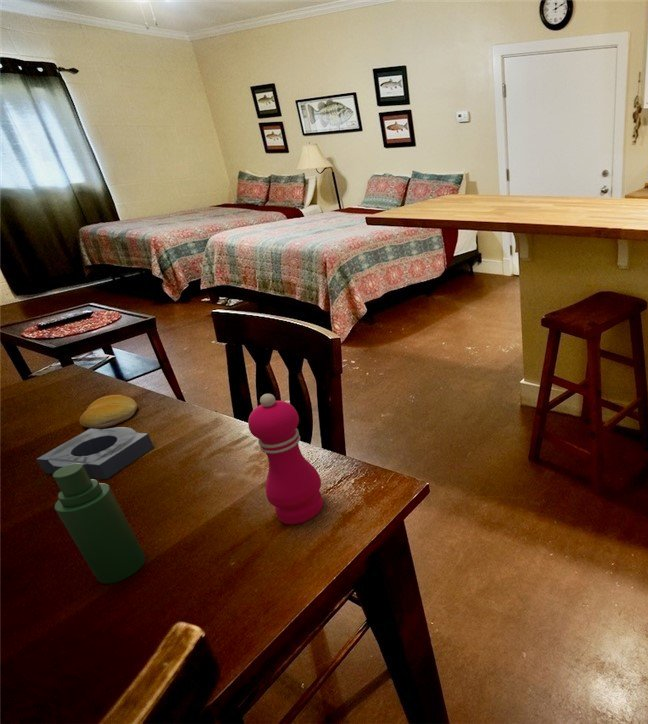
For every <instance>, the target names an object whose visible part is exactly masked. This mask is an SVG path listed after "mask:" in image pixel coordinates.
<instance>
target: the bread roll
mask: <svg viewBox="0 0 648 724" xmlns="http://www.w3.org/2000/svg"><path fill="white" fill-rule="evenodd" d="M137 409H138V403H137V402H136V401H135V400H134V399H133V398H131V397H129V396H127V395H123V394H111V395H106V396H102V397H99V398H98V399H95V400H94V401H93V402H92V403H90V404H89V405H88V407H87V408H86V410H85V411H84V412H83V413H82V414H81V415H80V417H79V424H80V425H81V427H83V428H88V429H107V428H111V427H113V426H116V425H118V424H121V423H122V422H126V421H127V420H129V419H130V418H132V416H134V414H135V413H136V411H137Z"/></svg>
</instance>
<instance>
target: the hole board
mask: <svg viewBox="0 0 648 724" xmlns="http://www.w3.org/2000/svg"><path fill="white" fill-rule="evenodd" d="M154 448H155V445H154V444H153V441H152V439H151V437H150V435H149V433H145V432H137V430H135V429H133V428H132V427H125V426H118V427H117V426H116V427H107V428H102V429H101V428H99V429H95V428H88V429H87V430H85V431H84V432H82V433H80V434H78V435H76V436H74V437H73V438H71V439H69V440H67V441H66V442H63V443H62V444H60V445H59V446H57V447H55V448H53V449H52V450H49V451H48V452H46V453H44V454H42V455H41V456H39V457H37V458H36V461H37V463H38V464H39V466H40V468H41V470H42V472H43V473H44V474H48V475H53V473H54V472H55V471H57V470H58V469H60V468H62V467H64V466H67V465H70V464H76V463H79V464H82V465H83V467H84V469H85V471H86V472H87V474H88V476H89V478H90V479H96V480H108V479H110V478H111V477H112V476H114V475H116V474H117V473H118V472H120V471H122V470H123V469H125V468H126V467H128V466H129V465H131V464H132V463H134V462H135V461H136V460H138V459H139V458H141V457H142V456H143V455H145V454H146V453H148V452H149V451H151V450H152V449H154Z"/></svg>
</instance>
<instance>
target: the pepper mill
mask: <svg viewBox="0 0 648 724" xmlns="http://www.w3.org/2000/svg"><path fill="white" fill-rule="evenodd" d="M259 403H260V404H259V405H258V406H256V407H255V408H254V409H253V410H252V411H251V412H250V414H249V417H248V421H247V422H248V423H247V424H248V425H247V426H248V430H249V432H250V434H251V435H252V436H253V437H254V438H256V439H258V440H257V444H258V445H259V449H260V451H261V452H263V453H265V454H266V456H267V461H268V471H267V474H266V480H265V495H266V499H267V501H268V503H269V504H270V505H272V506H273V507H274V510H275V514H276V516H277V519H278V520H279V521H280V522H281V524H285V525H298V524H302V523H305V522H307V521H309V520H311V519H312V518H314V517H315V516H317V515H318V514H319V513H320V511H321V510H322V509H323V506H324V500H323V497H322V493H321V491H320V490H321V487H322V478H321V476H320V474H319V472H318V470H317V469H316V467H315V466H313V465H312V464H311V463H310V462H309V461H308V460H307V459H306V458H305V457H304V456H303V454H302V451H301V449H300V445H299V442H300V441H301V436H300V432H299V429H298V426H299V424H300V423H299V422H300V418H299V417H300V416H299V413H298V411H297V410H296V408H295V406H293V405H292V404H291V403H289V402H287V401H284V400H276V397H275V396H274V394H272V393H264V394H263V395H262V396H260V399H259Z"/></svg>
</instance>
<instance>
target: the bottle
mask: <svg viewBox="0 0 648 724" xmlns="http://www.w3.org/2000/svg"><path fill="white" fill-rule="evenodd" d="M52 478H53V480H54V481H55V483H56V484H57V486H58V488H59V490H60V491H59V492H58V495H57V498H58V500H57V501H56V502H55V504H54V507H53V508H54V510H55V512H56V514H57V515H58V517H59V519H60V521H61V523H62V524H63V525H64V527H65V529H66V530H67V532H68V534H69V536H70V537H71V538H72V540H73V542H74V544H75V546H76V547H77V548H78V549H77V550H78V551H79V552H80V553H81V555H82V557H83V558H84V560H85V562H86V564H87V566H88V567H89V568H90V570H91V572H92V573H93V575H94V577H95V579H96V581H98V583H100V584H106V585H108V584H115V583H119V582H121V581H123V580H125V579H127V578H129V577H131V576H132V575H134V574H135V573H137V572H138V571H139V570H140V569H141V568H142V567H143V566H144V564H145V563H146V559H147V557H146V554H145V552H144V549H143V548H142V547H141V545H140V543H139V541H138V539H137V537H136V535H135V533H134V531H133V529H132V527H131V525H130V523H129V522H128V519H127V517H126V515H125V514H124V512H123V510H122V508H121V506H120V504H119V503H118V501H117V498H116V496H115V495H114V493H113V490H112V488H111V486H110V485H109V484H107V483H104V482H99V481H98V479H95V478H93V479H90V478H89V476H88V474H87V472H86V471H85V469H84V467H83V465H82V464H79V463H76V464H70V465H67V466H64V467H62V468H60V469H58V470H57V471H55V472H54V473H53V474H52Z"/></svg>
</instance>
